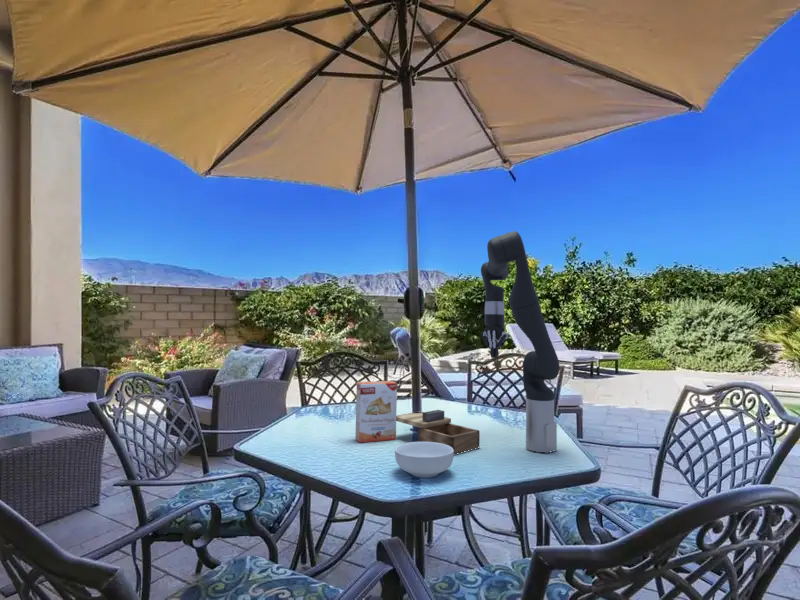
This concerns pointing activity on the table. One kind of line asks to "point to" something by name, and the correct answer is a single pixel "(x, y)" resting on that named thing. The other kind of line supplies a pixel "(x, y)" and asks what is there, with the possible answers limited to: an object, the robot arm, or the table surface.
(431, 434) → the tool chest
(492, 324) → the robot arm
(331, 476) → the table surface
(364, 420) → the cracker box
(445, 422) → the beige cabinet door
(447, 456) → the cereal bowl
